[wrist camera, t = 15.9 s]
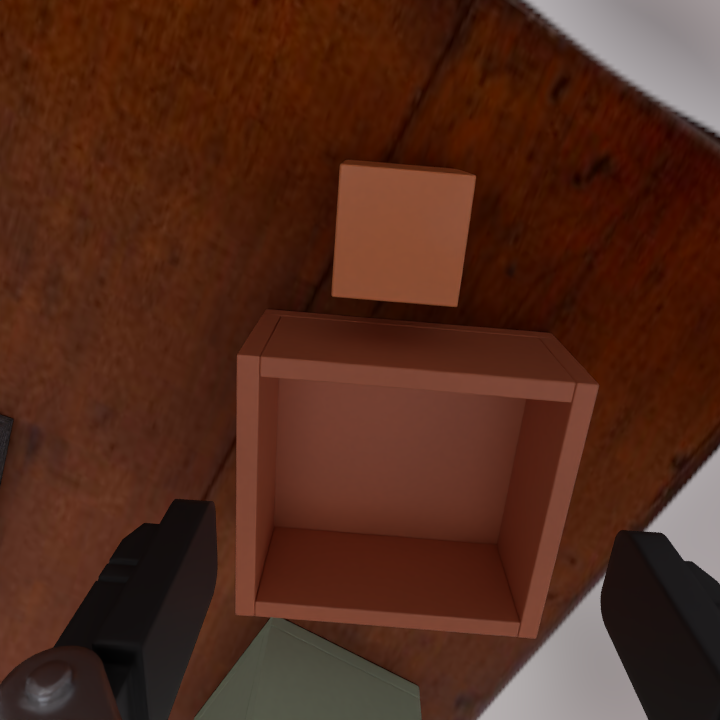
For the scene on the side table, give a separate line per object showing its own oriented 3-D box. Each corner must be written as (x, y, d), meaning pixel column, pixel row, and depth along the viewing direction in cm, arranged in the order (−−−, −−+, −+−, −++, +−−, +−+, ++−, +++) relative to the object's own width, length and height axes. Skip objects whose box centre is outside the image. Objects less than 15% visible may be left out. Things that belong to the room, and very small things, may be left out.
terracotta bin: (551, 332, 25) (600, 384, 20) (506, 547, 30) (536, 639, 24) (265, 308, 25) (236, 354, 20) (260, 528, 29) (235, 615, 24)
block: (457, 168, 23) (477, 175, 19) (443, 279, 25) (457, 307, 20) (345, 159, 23) (339, 163, 19) (338, 270, 25) (331, 297, 20)
